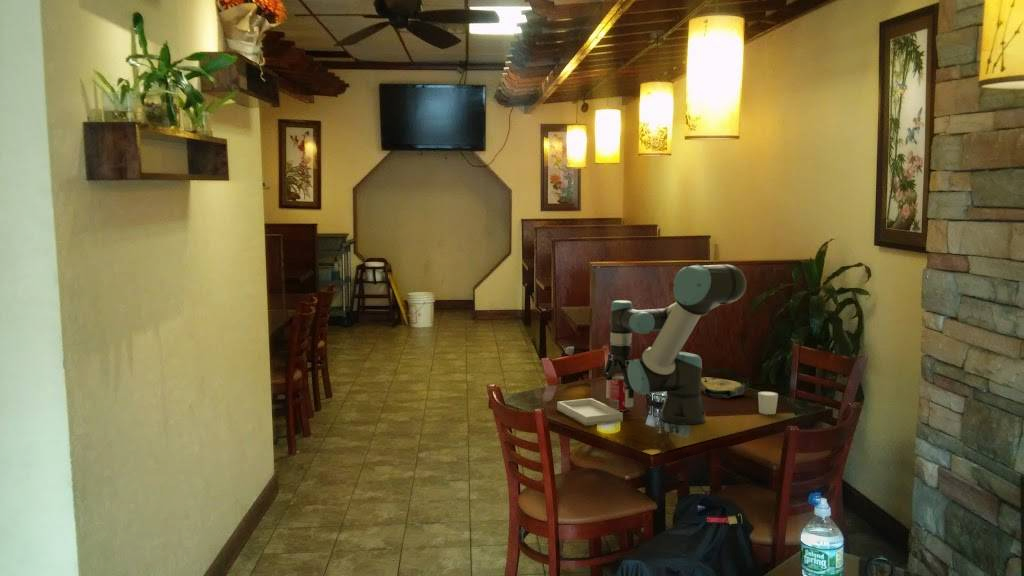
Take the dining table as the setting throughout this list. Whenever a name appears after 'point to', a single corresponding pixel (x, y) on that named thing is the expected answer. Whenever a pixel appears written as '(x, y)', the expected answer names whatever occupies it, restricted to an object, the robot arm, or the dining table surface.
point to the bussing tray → (589, 411)
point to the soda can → (618, 393)
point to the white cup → (767, 402)
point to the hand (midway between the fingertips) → (619, 402)
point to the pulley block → (721, 387)
